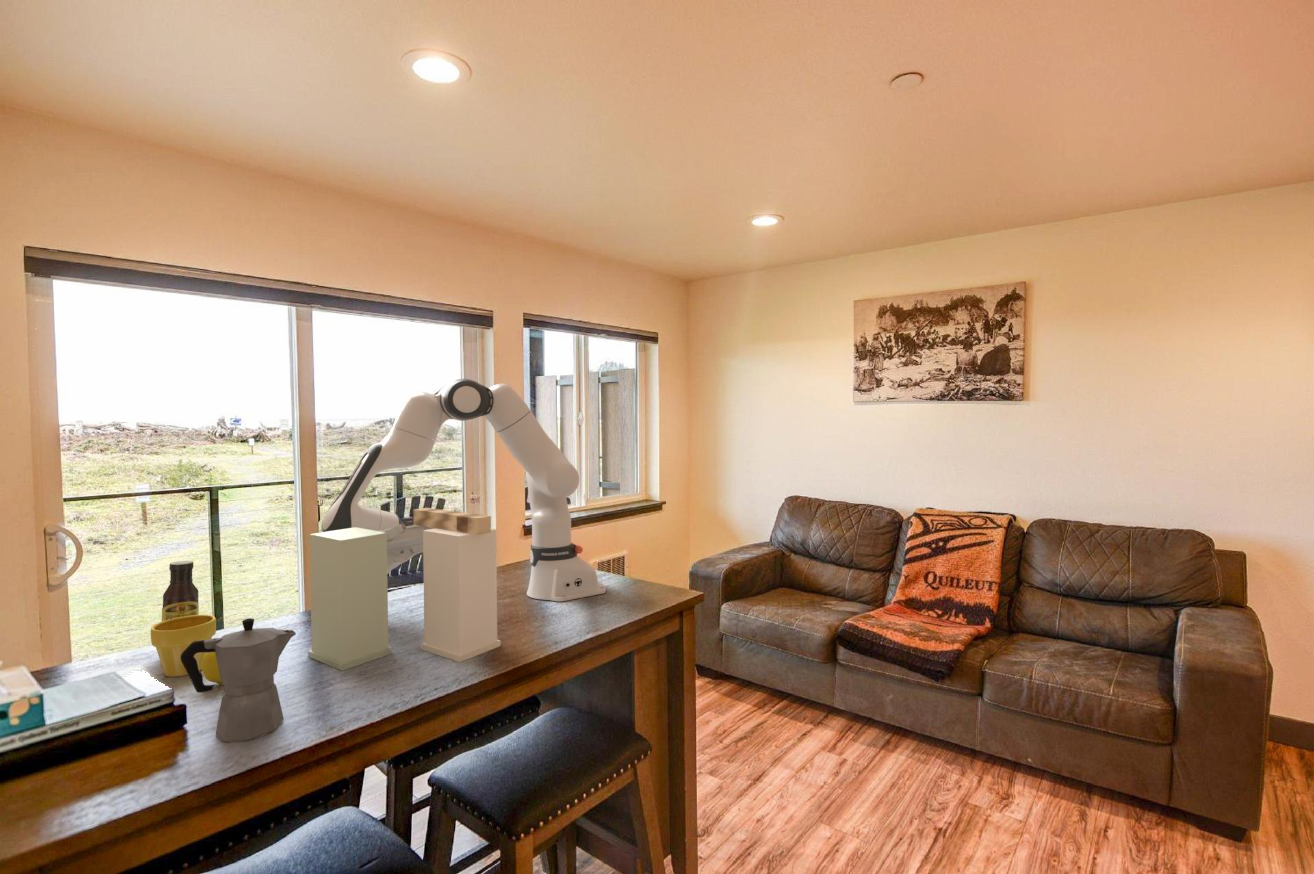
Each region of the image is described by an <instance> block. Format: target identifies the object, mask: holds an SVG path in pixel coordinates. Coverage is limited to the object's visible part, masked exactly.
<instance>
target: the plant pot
mask: <svg viewBox="0 0 1314 874" xmlns="http://www.w3.org/2000/svg"><path fill="white" fill-rule="evenodd" d="M216 632H217V619H216V617H215V616H214V615H212V614H199V615H191V616H184V617H178V618H173V619H169V620H166V621H162V620H161V621H160V622H157V623H155V624H153V625H152V626H151V628H150V642H151V646H152V647H155V648H156V651H157V655H158V658H159V661H160V664H161V667H162V670H163V674H164V675H165V676H166V677H174V678H176V677H184V676H188V673H187V671H186V669H185V667H184V666H183V664H182V662H181V654H182V652H183V651H184V650H185V649H186V648H187V647H188V646H189V645H190V644H191V643H192V642H194V641H201V640H207V639H213V636H215V635H216V634H217V633H216ZM206 653H207V652H200V653H196V654H195V655H194V658H195V659H196V661H197V664H198V669H199V671H200V672H201V671H203V670H202V665H203V659H204V656H205V654H206Z"/></svg>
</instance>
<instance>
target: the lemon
mask: <svg viewBox="0 0 1314 874" xmlns="http://www.w3.org/2000/svg"><path fill="white" fill-rule="evenodd" d="M201 671H202V675H203V676H204V679H206V680H207V681H208V682H210V683H215V684H217V685H219V686H221V685H224V684H223V683H222V682H221V678H220V673H219V668H218V664H217V659H216V654H215V652H207V653H206V654H205V656H204V659H203V665H202V670H201Z"/></svg>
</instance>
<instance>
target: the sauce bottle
mask: <svg viewBox="0 0 1314 874" xmlns="http://www.w3.org/2000/svg"><path fill="white" fill-rule="evenodd" d="M168 568H169V571H170V572H169V575H170V576H169V577H170V580H169V584H168V587H167V588H166V590H165V592H164V593H163V594H162V608H161V622H162V621H166V620H169V619H173V618H178V617H184V616H191V615H200V611H199V610H200V609H199V608H200V607H199V589H198V588H197V586H196V585H195V584H194V583H193V569H194V561H193V560H179V561H178V560H177V561H173V562H171V563H169V567H168Z"/></svg>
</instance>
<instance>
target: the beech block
mask: <svg viewBox="0 0 1314 874" xmlns="http://www.w3.org/2000/svg"><path fill="white" fill-rule="evenodd" d="M413 525H418V526H425V527H431V528H437V529H444V530H450V531H456V532H463V533H469V534H475V535H480V534H485V533H490V532H491V528H492V517H491V515H484V514H477V513H470V512H462V511H456V510H455V511H454V510H448V509H439V508H431V507H424V508H423V507H422V508H416V509H413Z"/></svg>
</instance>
